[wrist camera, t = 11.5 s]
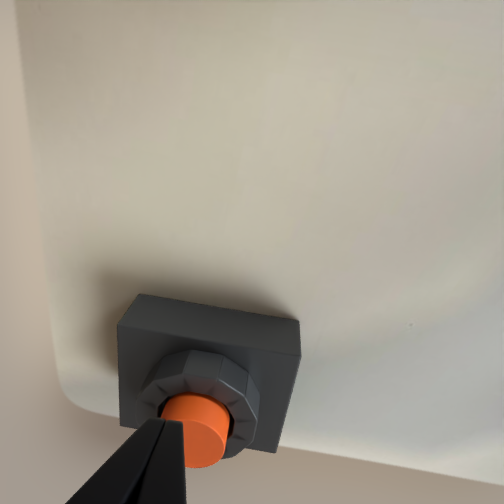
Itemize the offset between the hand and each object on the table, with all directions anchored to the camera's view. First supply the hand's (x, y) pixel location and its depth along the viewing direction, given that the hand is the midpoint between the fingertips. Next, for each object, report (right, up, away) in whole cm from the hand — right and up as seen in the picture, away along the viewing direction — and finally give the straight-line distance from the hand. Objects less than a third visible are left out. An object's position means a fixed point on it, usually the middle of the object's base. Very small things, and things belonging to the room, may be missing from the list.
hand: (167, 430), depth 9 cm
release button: (-1, -5, +11) cm, 12 cm away
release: (0, -3, +15) cm, 15 cm away
